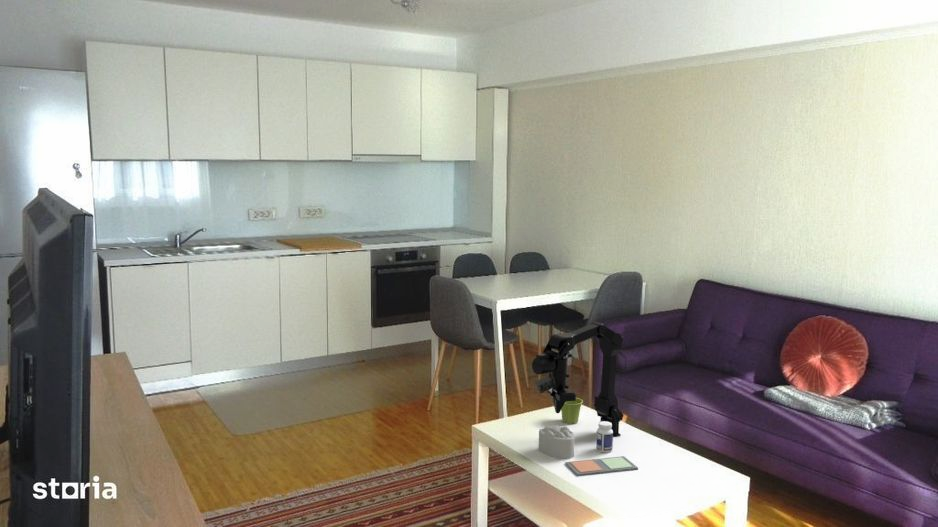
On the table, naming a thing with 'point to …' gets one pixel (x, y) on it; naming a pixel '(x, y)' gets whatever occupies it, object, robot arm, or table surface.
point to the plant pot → (571, 411)
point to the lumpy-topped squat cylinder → (556, 442)
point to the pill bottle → (604, 437)
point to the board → (601, 466)
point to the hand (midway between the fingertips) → (557, 412)
